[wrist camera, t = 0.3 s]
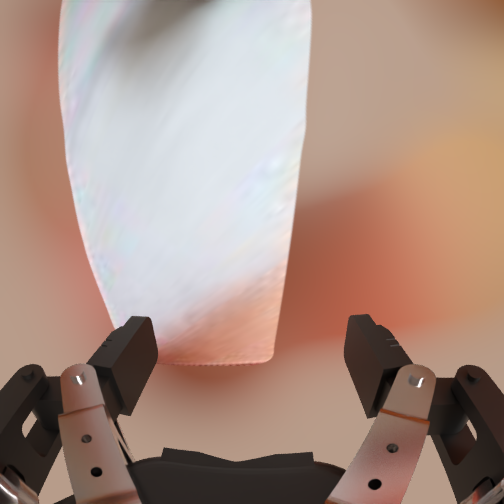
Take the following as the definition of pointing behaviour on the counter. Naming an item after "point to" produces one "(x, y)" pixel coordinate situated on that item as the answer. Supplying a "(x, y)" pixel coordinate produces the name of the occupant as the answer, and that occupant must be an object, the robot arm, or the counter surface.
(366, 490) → the robot arm
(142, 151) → the counter surface
